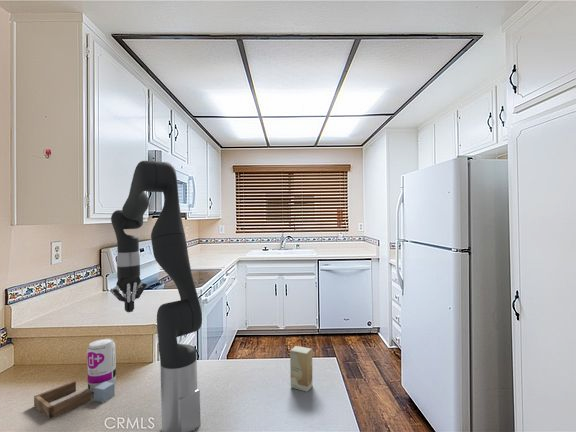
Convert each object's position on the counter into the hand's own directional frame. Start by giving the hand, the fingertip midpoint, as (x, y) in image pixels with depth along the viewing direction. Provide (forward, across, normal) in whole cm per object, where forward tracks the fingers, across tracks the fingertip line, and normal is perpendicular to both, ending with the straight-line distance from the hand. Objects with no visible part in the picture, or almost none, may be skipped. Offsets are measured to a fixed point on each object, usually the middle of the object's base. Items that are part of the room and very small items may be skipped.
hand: (129, 311), depth 116 cm
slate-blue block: (+23, -13, -8) cm, 28 cm away
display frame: (+23, -22, 0) cm, 31 cm away
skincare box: (+23, +25, -58) cm, 67 cm away
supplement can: (+23, -10, 0) cm, 25 cm away
